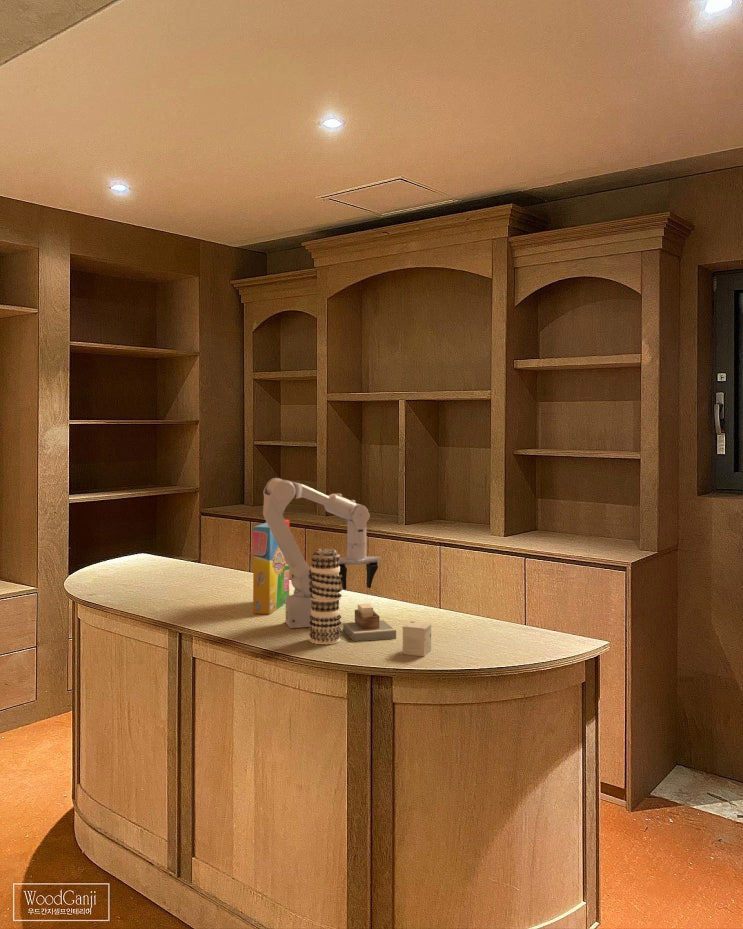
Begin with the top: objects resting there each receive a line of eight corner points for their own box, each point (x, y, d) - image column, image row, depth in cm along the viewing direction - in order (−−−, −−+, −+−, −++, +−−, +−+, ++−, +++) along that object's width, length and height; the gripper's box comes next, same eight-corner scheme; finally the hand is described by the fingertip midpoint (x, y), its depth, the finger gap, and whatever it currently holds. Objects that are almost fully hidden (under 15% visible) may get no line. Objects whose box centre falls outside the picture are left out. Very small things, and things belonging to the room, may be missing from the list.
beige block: (362, 618, 227) (362, 608, 227) (357, 614, 232) (357, 604, 232) (373, 618, 228) (373, 607, 228) (368, 613, 233) (368, 603, 233)
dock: (354, 641, 219) (354, 632, 219) (343, 629, 231) (343, 622, 231) (396, 638, 223) (396, 629, 223) (383, 627, 234) (383, 619, 234)
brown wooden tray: (362, 629, 224) (362, 617, 224) (354, 621, 233) (354, 609, 233) (379, 628, 225) (379, 616, 225) (371, 620, 234) (371, 608, 234)
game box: (269, 615, 247) (269, 527, 246) (252, 614, 248) (252, 526, 247) (289, 600, 268) (289, 518, 266) (273, 599, 269) (273, 518, 267)
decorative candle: (301, 640, 220) (301, 549, 218) (326, 634, 226) (327, 546, 225) (323, 647, 213) (323, 553, 212) (348, 640, 220) (349, 550, 218)
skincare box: (424, 657, 206) (424, 628, 205) (401, 654, 208) (402, 626, 208) (431, 650, 211) (431, 623, 211) (409, 648, 214) (409, 620, 213)
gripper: (336, 546, 236) (336, 592, 237) (383, 544, 240) (383, 589, 241) (330, 542, 243) (330, 587, 244) (376, 541, 247) (376, 584, 248)
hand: (356, 588), depth 243 cm, fingers open, 7 cm apart
